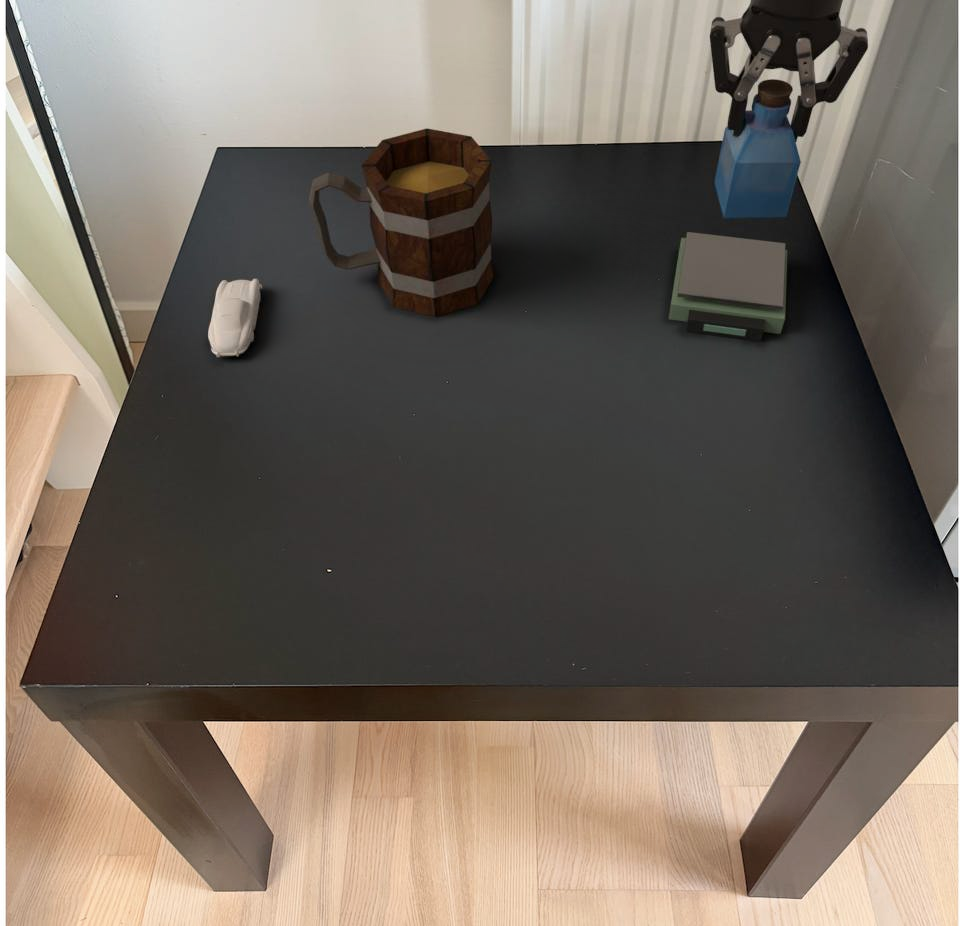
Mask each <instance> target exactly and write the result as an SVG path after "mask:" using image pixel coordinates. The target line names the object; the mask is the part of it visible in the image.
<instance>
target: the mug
mask: <svg viewBox="0 0 960 926" xmlns="http://www.w3.org/2000/svg"><path fill="white" fill-rule="evenodd" d="M491 169H492V159H491V158H490V157H489V155H488V154H487V153H486V152H485V151H484V149H483V148H482V147H481V146H480V145H479V144H478V142H477V141H476V140H475V139H474V138H473V137H472V136H471V135H466V134H460V133H455V132H449V131H444V130H439V129H433V128H429V127H428V128H424V129H419V130H415V131H411V132H408V133H404V134H400V135H397V136H393V137H389V138H384V139H381V141H380V142H379V143H378V144H377V145H376V147H375V148H374V150H372V152H371V153H370V154H369V156H368V157H367V158H366V159H365V160H364V162H363V163H362V164H361V171H362V173H363V176H364V181H365V184H366V187H363V186H362V187H361V186H359V185H358V184H356V183H355V182H353V181H352V180H350V179H349V178H348V177H346V176H345V175H342V174H338V173H334V172H330V171H329V172H327V173H324V174H321V175H319V176H318V177H316V178H314V179H313V180H312V182H311V187H310V192H309V198H308V204H309V207H310V210H311V213H312V215H313V219H314V221H315V224H316V228H317V233H318V238H319V242H320V246H321V249H322V252H323V255H324V256H325V257H326V258H327V260H328V261H329V263H331V265H332V266H333V267H335V268H340V269H343V270H347V271H350V270H354V269H358V268H362V267H366V266H371V265H376V264H377V271H378V272H377V281H378V283H379V284H380V286H381V289H382V290H383V291H384V293H385V295H386V296H387V298H388V300H389V301H390V303H391V305H392V307H393V308H397V309H401V310H405V311H410V312H415V313H416V314H417V313H418V314H421V315H427V316H431V317H435V318H438V317H441V316H443V315H446V314H449V313H452V312H455V311H459V310H462V309H465V308H466V309H467V308H468V307H472V306H475V305H478V304H479V303H480V301H481V300H482V298H483V296H484V294H485V292H486V291H487V289H488V287H489V286H490V284H491V282H492V280H493V278H494V277H495V272H494V268H493V261H492V232H493V215H492V208H491V200H490V177H491ZM329 187H330V188H332V189H337V190H338V191H341V192H342V193H344V194H345V195H346V196H348V197H349V198H351V199H352V200H353V201H355V202H358V203H368V204H369V225H370V230H371V234H372V238H373V241H374V245H375V249H372V250H366V251H360V252H358V253H355V254H352V255H349V256H348V255H345V254H341V253H338V251H337V250H336V248H335V247H334V245H333V244H332V241H331V235H330V232H329V226H328V222H327V217H326V215H325V212H324V209H323V207H322V204H321V201H320V191H323V190H324V189H326V188H329Z"/></svg>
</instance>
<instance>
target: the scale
mask: <svg viewBox="0 0 960 926" xmlns="http://www.w3.org/2000/svg"><path fill="white" fill-rule="evenodd" d="M685 241H686V237H681V239H680V245H679V250H678V256H677V262H676V269H675V275H674V281H673V289H672V294H671V300H670V308H669V314H668V320H671V321H680V322H685V323H686V326H685V332H686V333H695V334H703V335H709V336H710V335H711V336H715V337H716V336H717V337H724V338H725V337H726V338H730V339H731V338H732V339H738V340H739V339H740V340H747V341H753V342H762V340H763V336H764V334H765V333H770V334H777V335H781V333H782V330H783V327H784V324H785V320H786V303H787V278H788V277H787V276H788V249H785V267H784V294H783V308H782V310H775V309H768V308H760V307H752V306H744V305H736V304H729V303H721V302H713V301H705V300H698V299H690V298H682V297H677V295H678V289H679V282H680V275H681V268H682V262H683V255H684V248H685Z"/></svg>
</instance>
